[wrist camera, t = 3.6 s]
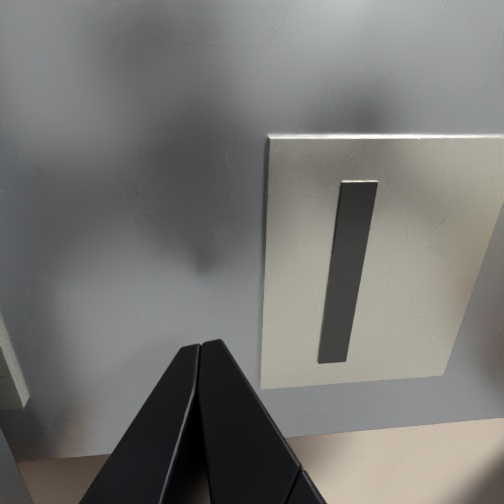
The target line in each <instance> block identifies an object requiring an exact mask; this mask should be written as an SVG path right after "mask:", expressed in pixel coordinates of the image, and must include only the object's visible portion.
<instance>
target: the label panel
mask: <svg viewBox="0 0 504 504" xmlns="http://www.w3.org/2000/svg"><path fill="white" fill-rule="evenodd" d="M215 339H222V340H223V341H224V343H225V344H226V346H227V348H228V349H229V351H230V352H231V354H232V355H233V357H234V359H235V360H236V362H237V363H238V365H239V367H240V368H241V370H242V371H243V373H244V374H245V376H246V378H247V379H248V381H249V382H250V384H251V385H252V387H253V389H254V390H255V392H256V393H257V395H258V397H259V398H260V400H261V401H262V403H263V404H264V406H265V408H266V409H267V411H268V412H269V414H270V415H271V417H272V419H273V420H274V422H275V423H276V425H277V427H278V428H279V430H280V431H281V433H282V434H283V436H284V438H287V437H298V436H309V435H320V434H331V433H341V432H352V431H363V430H374V429H385V428H395V427H406V426H417V425H428V424H439V423H450V422H460V421H471V420H482V419H493V418H504V0H0V427H1V429H2V432H3V434H4V436H5V439H6V441H7V443H8V445H9V448H10V450H11V452H12V455H13V457H14V459H15V462H16V463H17V462H28V461H39V460H49V459H60V458H71V457H82V456H93V455H103V454H111V453H112V452H113V450H114V449H115V447H116V446H117V444H118V443H119V441H120V440H121V438H122V437H123V435H124V433H125V432H126V430H127V429H128V427H129V426H130V424H131V423H132V421H133V420H134V418H135V417H136V415H137V413H138V412H139V410H140V409H141V407H142V406H143V404H144V403H145V401H146V400H147V398H148V396H149V395H150V393H151V392H152V390H153V389H154V387H155V386H156V384H157V383H158V381H159V380H160V378H161V376H162V375H163V373H164V372H165V370H166V369H167V367H168V366H169V364H170V363H171V361H172V360H173V358H174V356H175V355H176V353H177V352H178V350H179V349H180V348H181V347H183V346H187V345H192V344H197V343H199V344H201V345H202V344H203V343H204V342H206V341H211V340H215Z"/></svg>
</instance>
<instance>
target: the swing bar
mask: <svg viewBox="0 0 504 504" xmlns="http://www.w3.org/2000/svg"><path fill="white" fill-rule="evenodd" d="M0 504H34V503H33V500H32V498H31V496H30V494H29V491H28V489H27V487H26V484H25V482H24V480H23V478H22V475H21V473H20V471H19V468H18V466H17V464H16V462H15V459H14V457H13V455H12V452H11V450H10V448H9V445H8V443H7V441H6V439H5V436H4V434H3V432H2V429H1V427H0Z"/></svg>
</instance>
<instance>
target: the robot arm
mask: <svg viewBox="0 0 504 504" xmlns="http://www.w3.org/2000/svg"><path fill="white" fill-rule="evenodd" d="M79 504H327V503H326V501H325V500H324V498H323V497H322V495H321V494H320V492H319V491H318V489H317V488H316V486H315V484H314V483H313V481H312V480H311V478H310V477H309V475H308V473H307V472H306V471H305V470H303V466H302V464H301V463H300V461H299V460H298V458H297V457H296V455H295V453H294V452H293V450H292V449H291V447H290V445H289V444H288V442H287V441H286V439H285V438H284V436H283V434H282V433H281V431H280V430H279V428H278V427H277V425H276V423H275V422H274V420H273V419H272V417H271V415H270V414H269V412H268V411H267V409H266V408H265V406H264V404H263V403H262V401H261V400H260V398H259V397H258V395H257V393H256V392H255V390H254V389H253V387H252V385H251V384H250V382H249V381H248V379H247V378H246V376H245V374H244V373H243V371H242V370H241V368H240V367H239V365H238V363H237V362H236V360H235V359H234V357H233V355H232V354H231V352H230V351H229V349H228V348H227V346H226V344H225V343H224V341H223V340H222V339H215V340H211V341H206V342H204V343H203V344H202V345H201V344H199V343H197V344H192V345H187V346H183V347H181V348H180V349H179V350H178V352H177V353H176V355H175V356H174V358H173V360H172V361H171V363H170V364H169V366H168V367H167V369H166V370H165V372H164V373H163V375H162V376H161V378H160V380H159V381H158V383H157V384H156V386H155V387H154V389H153V390H152V392H151V393H150V395H149V396H148V398H147V400H146V401H145V403H144V404H143V406H142V407H141V409H140V410H139V412H138V413H137V415H136V417H135V418H134V420H133V421H132V423H131V424H130V426H129V427H128V429H127V430H126V432H125V433H124V435H123V437H122V438H121V440H120V441H119V443H118V444H117V446H116V447H115V449H114V450H113V452H112V453H111V455H110V457H109V458H108V460H107V461H106V463H105V464H104V466H103V467H102V469H101V470H100V472H99V474H98V475H97V477H96V478H95V480H94V481H93V483H92V484H91V486H90V487H89V489H88V490H87V492H86V494H85V495H84V497H83V498H82V500H81V501H80V503H79Z"/></svg>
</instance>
